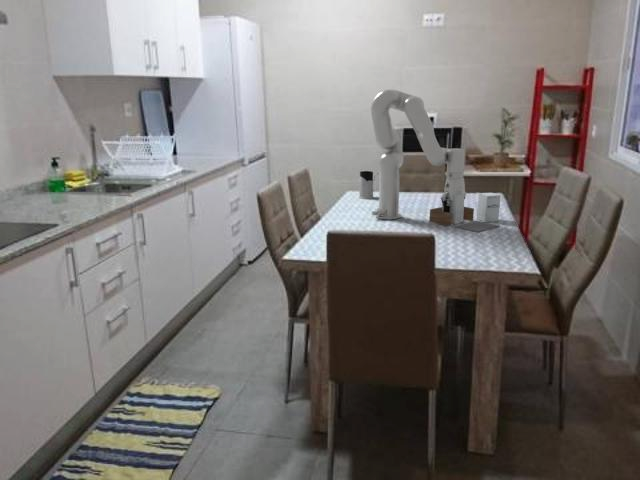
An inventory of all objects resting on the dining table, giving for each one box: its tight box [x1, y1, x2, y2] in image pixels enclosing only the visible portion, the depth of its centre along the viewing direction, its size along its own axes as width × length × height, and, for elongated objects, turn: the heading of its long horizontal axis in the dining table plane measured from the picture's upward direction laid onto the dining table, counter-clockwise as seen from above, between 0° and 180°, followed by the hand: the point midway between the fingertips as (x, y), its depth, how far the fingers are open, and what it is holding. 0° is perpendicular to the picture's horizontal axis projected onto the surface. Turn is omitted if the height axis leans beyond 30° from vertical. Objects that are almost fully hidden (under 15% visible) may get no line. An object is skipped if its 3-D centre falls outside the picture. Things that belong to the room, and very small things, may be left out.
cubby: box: [429, 206, 475, 227], centre depth 248 cm, size 17×12×6 cm
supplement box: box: [476, 192, 501, 223], centre depth 249 cm, size 7×7×13 cm
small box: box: [441, 195, 466, 225], centre depth 246 cm, size 8×6×13 cm
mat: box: [454, 220, 500, 233], centre depth 237 cm, size 16×12×1 cm
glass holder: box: [358, 170, 379, 200], centre depth 307 cm, size 9×14×15 cm, turn 118°
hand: (453, 212), depth 247 cm, fingers open, 9 cm apart
